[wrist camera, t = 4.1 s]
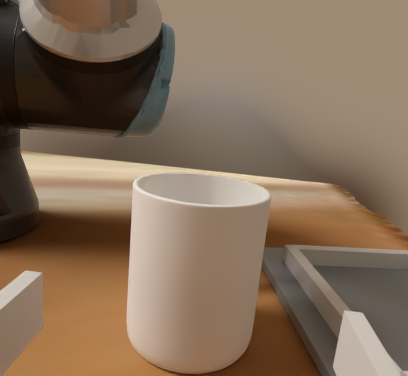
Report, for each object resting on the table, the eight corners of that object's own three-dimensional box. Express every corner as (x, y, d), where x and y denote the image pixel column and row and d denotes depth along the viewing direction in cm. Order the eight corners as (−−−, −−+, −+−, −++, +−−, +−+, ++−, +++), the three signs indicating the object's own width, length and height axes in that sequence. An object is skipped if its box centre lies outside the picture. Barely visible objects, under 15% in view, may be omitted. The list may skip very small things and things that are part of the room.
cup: (100, 355, 22) (105, 189, 20) (172, 271, 33) (180, 160, 31) (238, 395, 20) (262, 216, 17) (264, 292, 31) (281, 174, 29)
